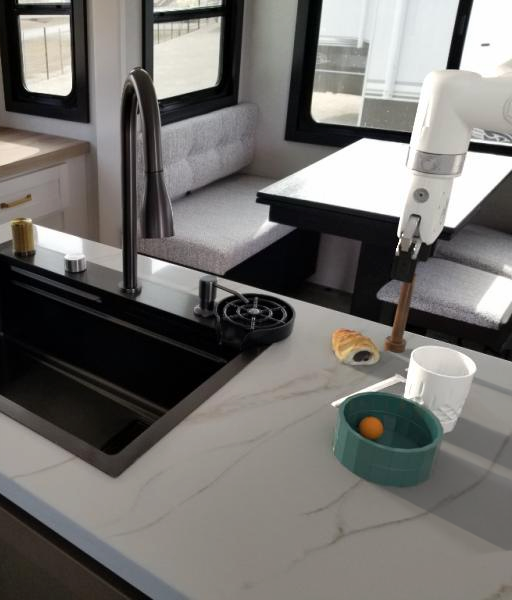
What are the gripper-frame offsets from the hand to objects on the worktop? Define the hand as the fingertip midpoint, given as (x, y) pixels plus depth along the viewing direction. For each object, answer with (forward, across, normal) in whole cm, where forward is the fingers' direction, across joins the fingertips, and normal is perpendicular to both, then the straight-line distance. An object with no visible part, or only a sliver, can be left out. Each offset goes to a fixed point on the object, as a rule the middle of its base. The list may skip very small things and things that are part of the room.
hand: (409, 269), depth 100 cm
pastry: (+15, -5, +5) cm, 17 cm away
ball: (+14, -26, -4) cm, 30 cm away
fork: (+15, -12, -2) cm, 20 cm away
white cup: (+15, -17, -9) cm, 24 cm away
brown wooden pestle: (+15, 0, -1) cm, 15 cm away
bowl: (+15, -28, -6) cm, 32 cm away
